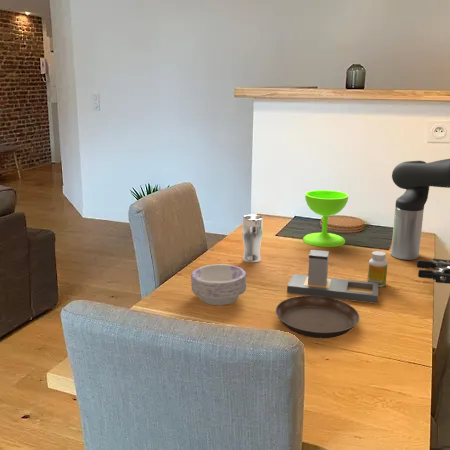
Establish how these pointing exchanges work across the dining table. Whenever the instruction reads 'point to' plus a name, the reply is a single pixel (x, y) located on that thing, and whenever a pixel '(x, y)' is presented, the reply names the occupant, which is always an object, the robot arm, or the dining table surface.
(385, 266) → the supplement bottle
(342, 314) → the plant saucer
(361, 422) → the dining table surface
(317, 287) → the gray slotted tray
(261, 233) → the beer glass
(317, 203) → the wineglass
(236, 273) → the paper bowls
